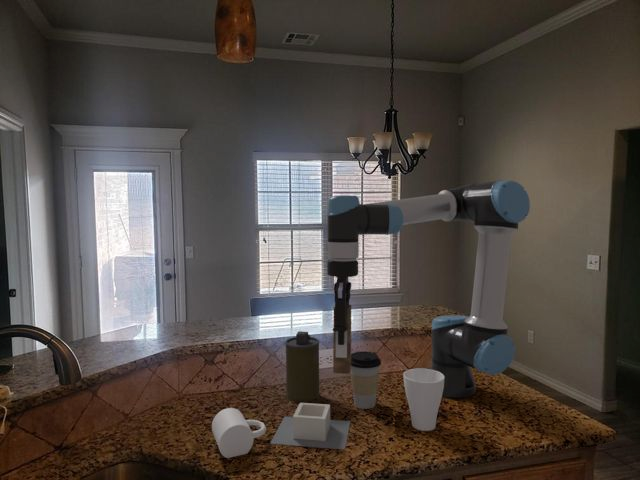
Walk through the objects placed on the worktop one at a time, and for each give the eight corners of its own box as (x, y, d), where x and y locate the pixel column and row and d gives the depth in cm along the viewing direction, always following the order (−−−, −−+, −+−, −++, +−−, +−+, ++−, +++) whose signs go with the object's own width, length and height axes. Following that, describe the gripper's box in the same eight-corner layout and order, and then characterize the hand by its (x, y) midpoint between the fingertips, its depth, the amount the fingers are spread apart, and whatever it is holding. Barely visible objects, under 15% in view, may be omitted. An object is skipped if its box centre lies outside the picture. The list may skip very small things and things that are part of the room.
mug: (219, 463, 98) (218, 429, 97) (212, 442, 107) (211, 410, 106) (270, 451, 102) (270, 418, 102) (259, 432, 112) (258, 401, 111)
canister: (316, 406, 126) (315, 338, 125) (281, 403, 128) (280, 336, 127) (323, 391, 137) (322, 328, 136) (291, 388, 139) (290, 327, 138)
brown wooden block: (350, 368, 109) (351, 304, 108) (349, 373, 105) (350, 308, 104) (335, 367, 109) (335, 304, 108) (333, 373, 105) (333, 307, 105)
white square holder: (330, 425, 113) (330, 404, 113) (325, 441, 105) (325, 418, 105) (300, 423, 114) (299, 402, 114) (293, 438, 106) (292, 416, 106)
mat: (350, 424, 115) (350, 421, 115) (344, 452, 101) (344, 449, 101) (284, 419, 118) (284, 416, 118) (270, 446, 104) (270, 443, 104)
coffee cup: (365, 417, 119) (365, 363, 118) (341, 406, 126) (341, 355, 125) (387, 407, 125) (387, 355, 124) (363, 397, 132) (363, 348, 131)
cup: (394, 423, 115) (394, 373, 115) (422, 412, 121) (422, 365, 120) (424, 440, 107) (425, 386, 106) (453, 428, 112) (453, 376, 112)
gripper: (331, 256, 115) (331, 343, 116) (322, 262, 98) (322, 364, 99) (360, 256, 113) (359, 344, 115) (355, 263, 97) (355, 366, 98)
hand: (342, 353), depth 107 cm, fingers closed on brown wooden block, 4 cm apart
